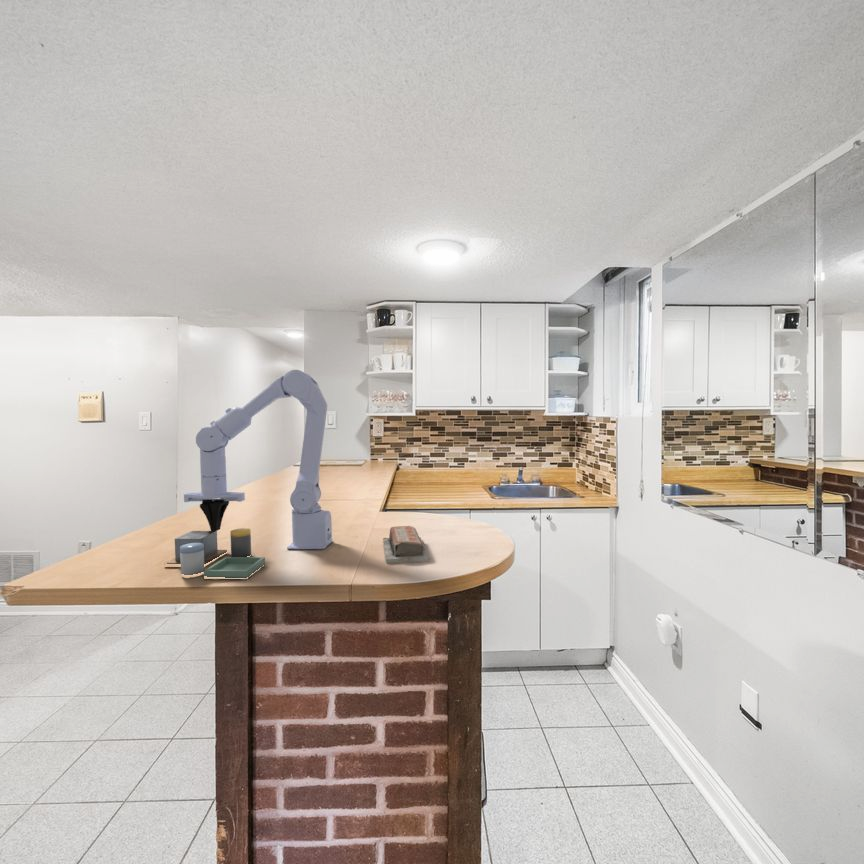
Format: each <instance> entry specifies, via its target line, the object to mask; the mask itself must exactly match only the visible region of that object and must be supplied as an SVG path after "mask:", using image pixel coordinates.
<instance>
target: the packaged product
mask: <svg viewBox="0 0 864 864" xmlns="http://www.w3.org/2000/svg"><path fill="white" fill-rule="evenodd" d="M388 535H389V537H388V538H387V537H383V538H382V542H383V543H382V544H383V552H384V559H385V563H386V564H387V565H390V564H391V565H392V564H393V565H394V564H406V563H408V564H411V563H425V561H426V562H430V561H431V556H430V554H429V552H428V550H427V548H426V546H425V545H424V542H423V540H422V538H421V537H420V535H419V534H418V532H417V529H416V528H415V527H414V526H411V525H404V526H403V525H401V526H400V525H399V526H391V527H390V529H389V534H388Z"/></svg>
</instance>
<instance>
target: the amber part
mask: <svg viewBox="0 0 864 864" xmlns="http://www.w3.org/2000/svg"><path fill="white" fill-rule="evenodd" d="M251 531H252V530H251V528H245V527H244V528H243V527H242V528H236V529H232V530H231V531H230V535H229V536H230V557H231V556H232V557H247V556H250V555H251V556H252V537H251ZM251 556H250V557H251Z"/></svg>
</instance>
